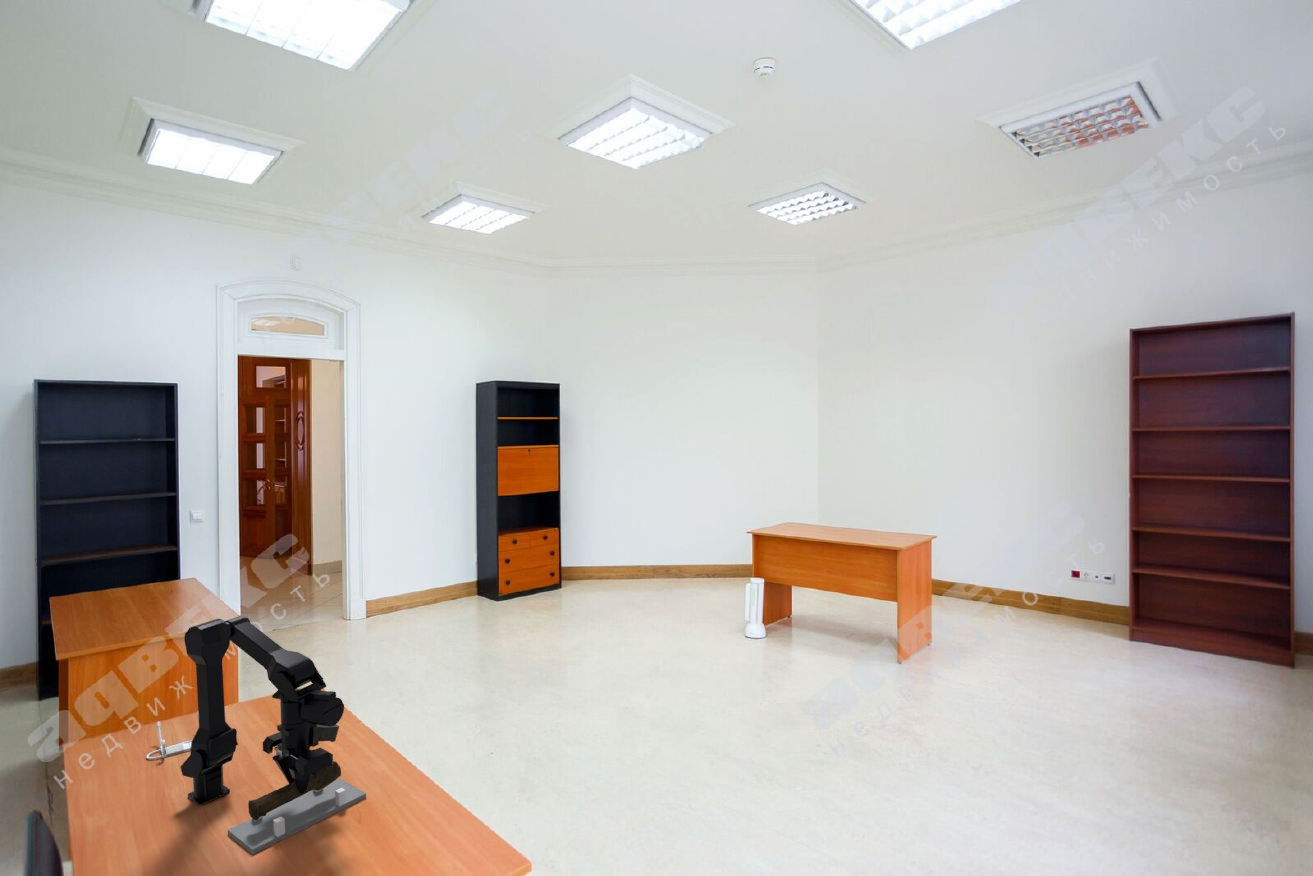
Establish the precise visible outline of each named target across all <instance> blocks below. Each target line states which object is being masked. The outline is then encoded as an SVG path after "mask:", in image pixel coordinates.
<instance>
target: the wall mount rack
mask: <svg viewBox="0 0 1313 876" xmlns="http://www.w3.org/2000/svg"><path fill="white" fill-rule="evenodd" d="M196 714H197V715H196V716H197V719H198V722H199V715H198V711H197V713H196ZM161 726H162V725H161V721H157V722H156V728H157V734H158V740H159V746H160V747H159V749H157V750H154V751H151V752H149V753H148V754H147V755H146V759H147V760H157V759H161V758H165V757H171V755H172V756H176V755H179V753H180V754H183V753H186V751H187V752H191V743H192V740H193V739H190V740H186V741H183V742H179V743H177V744H173V745H170V746H166V740H165V739H163V737H162V730H161V728H162V727H161ZM156 752H157V753H159V752H161V755H158V756H151V755H153V754H156Z"/></svg>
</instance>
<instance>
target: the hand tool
mask: <svg viewBox="0 0 1313 876" xmlns="http://www.w3.org/2000/svg"><path fill="white" fill-rule="evenodd" d="M341 776H342V768H341V766H340V765H339V763H338V762H337V761H335V760H333V764H332V765H331V766H328V767H326V768H324V769H321V770H319V771H317V772H315V773H312V774H311V776H310V780H309V783H308V786H307V789H306V792H304V793H302V794H300V793H299V791H298V789H297V786H296V784H295V782H292V783H290V784H289V783H288V784H286V785H284V786H282V787H280V788H278V789H275V790H273V791H271V792H269V793H267V794H263V795H262V796H261V797H258V798H256V799H251V800H248V803H247V804H248V814H249V815H250V819H252V818H253V819H254V820H258V819H259V817H260V816H266V814H267V813H268V812H270V811H272V810H274V809H276V808H278V807H280V806H282V805H284V804H286V803H288V802H290V801H292V800H294V799H296V798H298V797H300V796H302V795H304V794H306V793H308V792H311V791H313V790H321V789H323V788H325V787H326V786H328V785H329V784H331V783H332V782H334V781H335V780H337V779H339V778H341Z"/></svg>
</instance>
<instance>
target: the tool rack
mask: <svg viewBox="0 0 1313 876" xmlns="http://www.w3.org/2000/svg"><path fill="white" fill-rule="evenodd" d="M366 798H367V793H366V792H365V791H363V790H361V789H359V788H358V787H357V786H354V785H352V784H351V783H349V782H347V781H346V780H344V779H342V778H341V777H339V778H337V779H336V780H335V781H334V782H332V783H331V784H329V785H328V786H326V787H325V788H323V789H321V790H312V791H310V792H308V793H306V794H304V795H302V796H300V797H298V798H296V799H294V800H292V801H290V802H288V803H286V804H284V805H282V806H280V807H278V808H276V809H274V810H272V811H270V812H268V813H267V814H266V816H260V817H259V819H258V820H254V819H253V818H250V819H248V820H246V821H244V822H241V823H239V824H237V825H234V826H233V827H230V828H229V829H227V835H228V836H229V837H230V838H232V839H233V840H234V841H235V842H237V843H238V844H239V845H241V846H242V847H243V849H245V850H247V851H248V852H249V853H250V854H251V855H255V854H257V853H258V852H260V851H263V850H265V849H267V848H268V847H270V846H272V845H274V844H276V843H279V842H280V841H282V840H284V839H286V838H288V837H291V836H292V835H295V834H297V833H299V832H300V831H302V830H304V829H306V828H309V827H310V826H312V825H315V824H317V823H318V822H321V821H322V820H324V819H326V818H328V817H330V816H332V815H334V814H336V813H338V812H341V811H343V810H344V809H346V808H348V807H350V806H353V805H354V804H356V803H358V802H360V801H362V800H364V799H366Z"/></svg>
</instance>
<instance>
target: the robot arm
mask: <svg viewBox="0 0 1313 876" xmlns="http://www.w3.org/2000/svg"><path fill="white" fill-rule="evenodd" d="M183 642H184V646H185V651H186V655H187V656H188V657H189V658H190V659H191V660H192V661H193V663H195V670H196V671H195V672H196V674H195V675H196V690H197V691H196V692H197V694H196V695H197V708H198V709H197V710H198V711H197V712H198V715H199V721H198V729H197V731H196V733H194V734H195V735H194V737H192V739H191V740H192V743H191V751H190V754H189V756H188V757H187V758H186V759H185V761H184V762H183V763H181V765H180V766H179V767H180V772H181V774H182V777H186V778H187V777H188V778H191V779H192V783H193V787H192V788H193V789H192V790H193V791H191V792H189V793H187V798H189V799H190V800H191V801H192V802H194V803H195V804H196V805H197V806H201V805H204V804H206V803H208V802H210V801H212V800H215V799H218V798H220V797H222V796H225V795H228V794H229V793H230V792H231V790H230V789H229V788H228V787H227V786H226V785H224V784H225V783H224V765H225V764H227V763H229V762H232V760H233V757H234V754H235V752H236V750H237V746H238V745H239V743H238V739H237V738H238V737H237V733H238V731H237V729H236V728H232V727H231V726H230V725H229V724H228V722H226V707H225V691H224V690H225V689H224V688H225V685H224V668H223V659H224V657H225V655H226V653H227V651H228V650H229V647H230V645H231V643H233V644H234V645H235V646H237V647H238V648H239V649H240V650H242V651H243V652H244V653H246V655H248V656H249V657H250V658H252V659H253V660H254V661H255V662H257V664H259V665H261V666H262V667H263V668H264V669H265V670H266V673H267V678H268V681H269V682H271V684H272V685H273V686H274V687H275V689H277V690H276V691H275V692H274V693H273V694H272V695H271V698H272V699H277V700H279V703H280V724H278V725H276V730H277V732H276V733H273V734H270V735H267V736H266V738H264V740H263V741H262V751H263V752H265V753H266V754H268V755H270V754H272V753H273V751H274V750H275V755H273V756H272V758H271V759H272V760H273V761H274V762H275V764H276V766H277V767H278V769H279V770H280V772H281V773H282V775H283V776H284V778H285V780H286V781H287V783H288V784H290V783H292V782H295V784H296V786H297V789H298V791H299V793H300V794H302V793H304V792H306V789H307V786H308V783H309V780H310V776H311V774H312V773H315V772H317V771H319V770H321V769H324V768H326V767H328V766H331V765H332V764H333V761H334V754H333V753H331V752H330V751H328V750H326V749H324V748H322V747H318V748H315V749H311V747H312V748H313V747H316V746H319V744H320V743H319V742H331V743H334V742H336V740H337V736H338V732H339V730H340V725H338V723H339V722H340V720H341V719H342V716H343V715H344V711H345V704H344V703H343V700H342V698H340V697H338V696H337V693H336V691H334V690H332V691H331V690H330V691H325V690H323V689H325V688H326V687H327V684H326V682H325V681H324V678H323V676H322V675H321V674H320V672H319V671H318V669H317V667H316V665H315V663H314V661H313V660H312V659H311V657H308V656H306V655H304V654H302V653H301V652H299V651H298V652H297V651H294V650H288V649H285V648H283V647H282V646H281V645H279V644H278V643H277V642H276V641H274V640H273V639H272V638H270V637H269V636H267V635H266V634H265V633H264V632H263V631H261V630H260V629H259V628H258V627H257V626H255V625H254V624H252V623H251V620H250V619H249V618H248V617H247V616H243V615H239V616H237V617H236V616H235V617H233V618H230V619H227V620H223V618H215V619H212V620H209V621H206V622H203V623H202V622H201V623H200V624H199V623H198V624H196V625H192V626H190V627H189V628H188V629H187V630H186V631H185V632H184V641H183ZM310 682H311V683H310ZM309 683H310V684H309ZM306 684H308V685H306ZM305 685H306V686H305ZM303 686H304V687H303ZM300 687H303V688H300Z"/></svg>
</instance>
